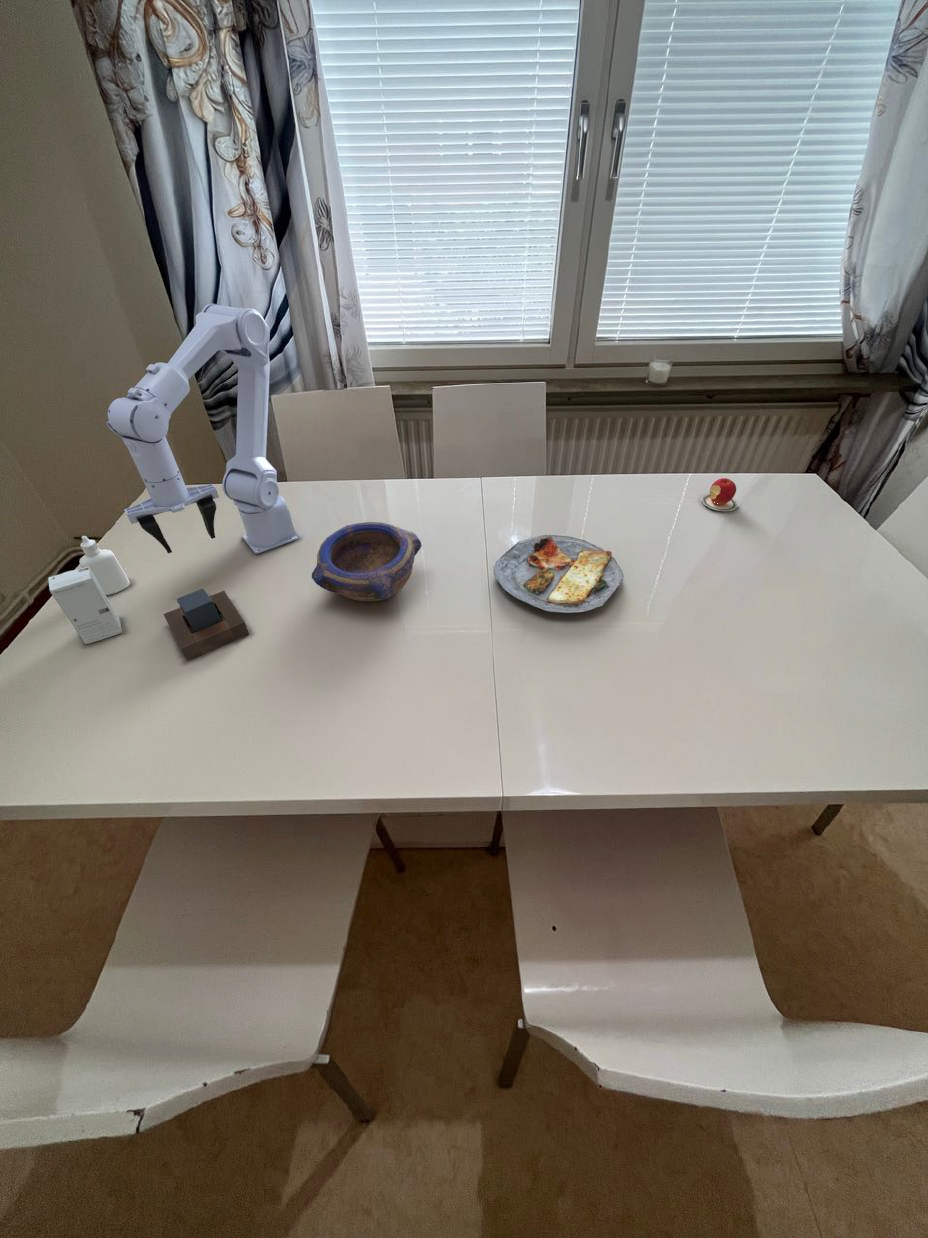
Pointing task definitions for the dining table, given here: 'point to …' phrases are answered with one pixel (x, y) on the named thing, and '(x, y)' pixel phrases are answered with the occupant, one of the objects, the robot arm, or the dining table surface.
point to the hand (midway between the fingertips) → (190, 542)
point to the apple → (721, 495)
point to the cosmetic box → (85, 604)
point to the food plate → (558, 573)
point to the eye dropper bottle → (103, 567)
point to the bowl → (366, 561)
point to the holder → (211, 635)
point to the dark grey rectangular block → (199, 610)
